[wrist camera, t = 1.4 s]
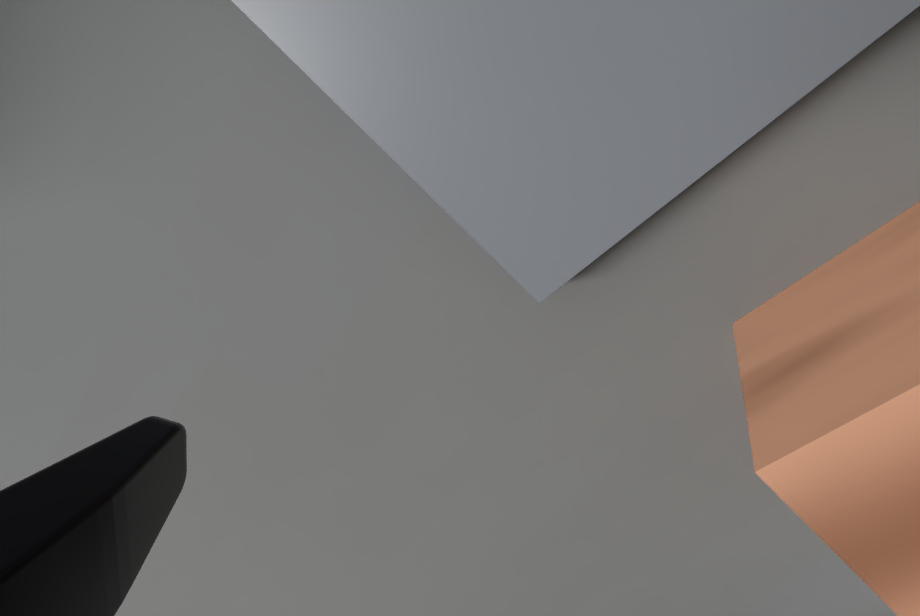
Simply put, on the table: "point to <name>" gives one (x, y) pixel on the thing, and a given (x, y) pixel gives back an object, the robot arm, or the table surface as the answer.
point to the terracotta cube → (846, 404)
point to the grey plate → (565, 101)
